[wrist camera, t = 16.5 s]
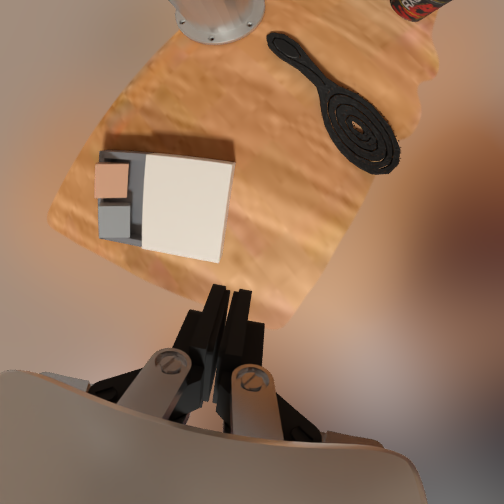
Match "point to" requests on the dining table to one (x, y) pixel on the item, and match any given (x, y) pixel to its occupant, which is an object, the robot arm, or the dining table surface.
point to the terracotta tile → (111, 179)
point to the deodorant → (416, 8)
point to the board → (186, 205)
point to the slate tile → (114, 219)
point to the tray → (129, 190)
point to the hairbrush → (344, 113)
